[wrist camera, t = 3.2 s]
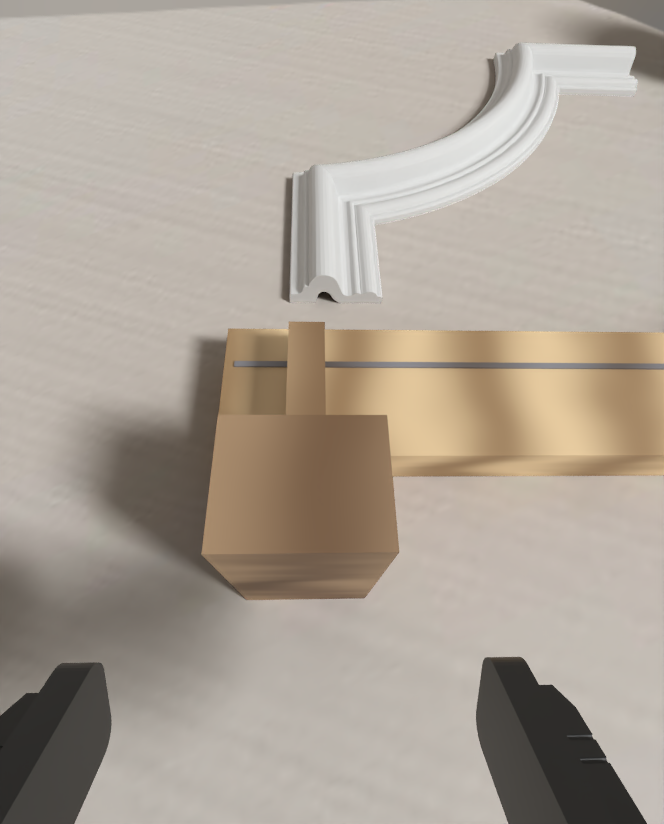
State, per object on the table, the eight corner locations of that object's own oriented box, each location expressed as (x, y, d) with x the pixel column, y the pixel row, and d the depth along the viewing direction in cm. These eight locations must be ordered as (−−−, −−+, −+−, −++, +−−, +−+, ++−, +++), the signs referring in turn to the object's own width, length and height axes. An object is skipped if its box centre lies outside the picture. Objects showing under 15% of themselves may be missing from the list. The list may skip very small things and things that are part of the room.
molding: (337, 346, 27) (340, 313, 24) (205, 241, 31) (195, 203, 28) (647, 88, 43) (669, 52, 40) (536, 39, 46) (549, 3, 44)
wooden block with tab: (246, 600, 19) (201, 554, 11) (261, 381, 25) (237, 247, 17) (364, 598, 20) (399, 552, 12) (353, 381, 25) (372, 250, 17)
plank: (223, 477, 22) (213, 455, 20) (235, 357, 25) (227, 327, 23) (706, 475, 23) (750, 454, 21) (656, 360, 26) (688, 331, 24)
